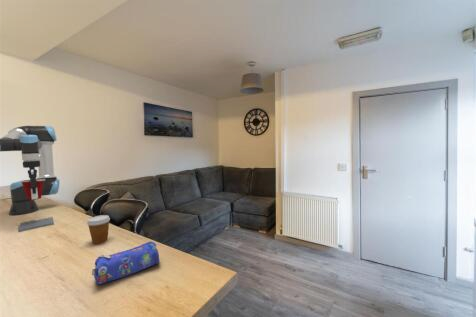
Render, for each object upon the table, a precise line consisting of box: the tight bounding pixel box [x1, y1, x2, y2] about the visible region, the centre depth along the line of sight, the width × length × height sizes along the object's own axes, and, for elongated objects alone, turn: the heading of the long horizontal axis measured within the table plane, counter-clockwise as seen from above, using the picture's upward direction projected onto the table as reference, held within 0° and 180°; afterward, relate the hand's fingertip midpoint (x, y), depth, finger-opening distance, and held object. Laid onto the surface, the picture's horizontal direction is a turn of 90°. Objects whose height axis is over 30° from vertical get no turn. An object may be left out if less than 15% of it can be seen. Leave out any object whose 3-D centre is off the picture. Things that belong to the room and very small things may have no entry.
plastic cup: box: [20, 179, 45, 201], centre depth 127 cm, size 11×11×12 cm
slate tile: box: [18, 216, 55, 233], centre depth 128 cm, size 15×15×1 cm
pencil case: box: [91, 241, 160, 285], centre depth 77 cm, size 22×9×10 cm, turn 127°
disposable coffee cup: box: [86, 214, 111, 245], centre depth 103 cm, size 10×10×12 cm
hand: (35, 197), depth 127 cm, fingers closed on plastic cup, 9 cm apart
